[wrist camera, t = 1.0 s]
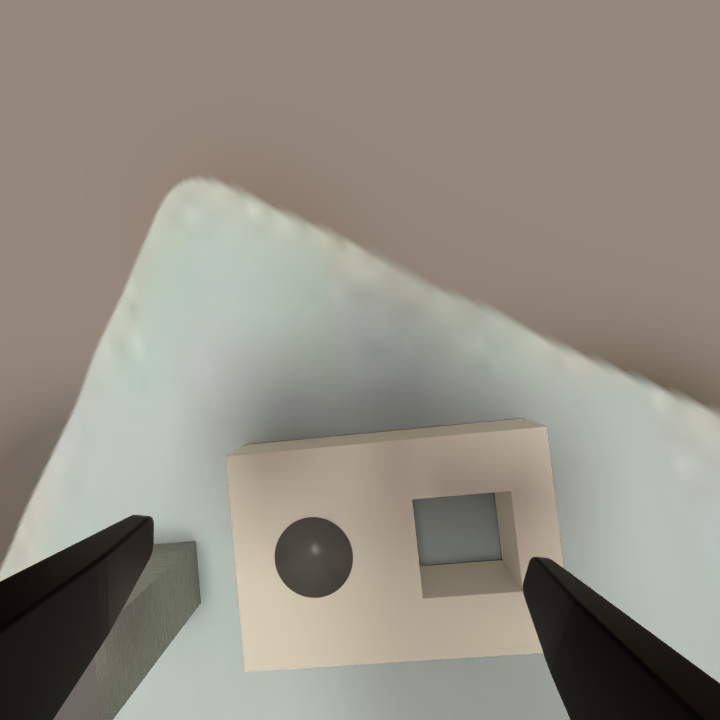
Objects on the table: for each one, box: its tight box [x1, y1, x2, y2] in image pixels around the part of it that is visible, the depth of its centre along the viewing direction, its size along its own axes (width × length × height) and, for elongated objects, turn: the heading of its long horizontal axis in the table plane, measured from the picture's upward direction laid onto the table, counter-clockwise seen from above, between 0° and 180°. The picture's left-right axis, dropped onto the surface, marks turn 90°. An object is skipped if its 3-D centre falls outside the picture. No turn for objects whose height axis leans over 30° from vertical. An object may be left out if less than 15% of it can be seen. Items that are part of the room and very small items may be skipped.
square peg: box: [53, 541, 201, 720], centre depth 18 cm, size 4×4×8 cm
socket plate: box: [226, 419, 564, 672], centre depth 20 cm, size 12×18×3 cm, turn 96°
